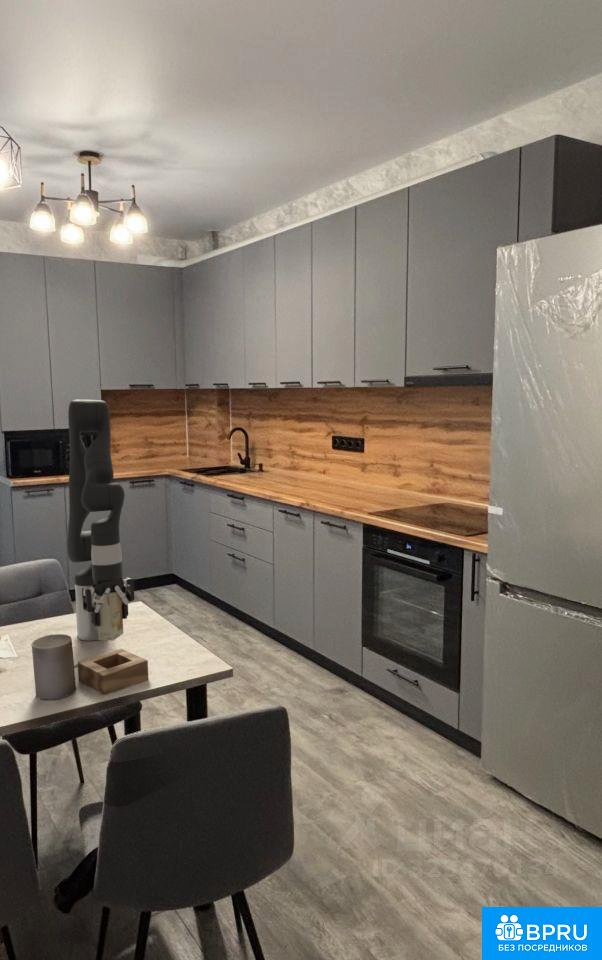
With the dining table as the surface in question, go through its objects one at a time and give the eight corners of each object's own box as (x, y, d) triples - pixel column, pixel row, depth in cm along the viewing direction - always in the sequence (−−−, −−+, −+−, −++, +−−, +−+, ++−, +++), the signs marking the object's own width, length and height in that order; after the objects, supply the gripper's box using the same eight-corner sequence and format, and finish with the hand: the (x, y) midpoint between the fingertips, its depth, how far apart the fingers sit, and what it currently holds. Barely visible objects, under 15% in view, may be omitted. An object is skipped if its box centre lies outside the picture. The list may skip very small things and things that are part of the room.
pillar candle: (68, 681, 187) (63, 626, 185) (81, 693, 179) (77, 636, 177) (30, 691, 181) (25, 635, 179) (42, 704, 173) (37, 645, 171)
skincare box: (113, 641, 182) (110, 595, 180) (97, 640, 183) (95, 594, 181) (124, 633, 188) (122, 588, 186) (109, 632, 189) (106, 587, 187)
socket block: (78, 681, 187) (77, 661, 186) (121, 666, 196) (120, 648, 195) (104, 695, 178) (103, 675, 177) (148, 679, 187) (147, 660, 186)
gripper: (123, 553, 190) (126, 612, 192) (73, 563, 180) (78, 625, 182) (138, 557, 185) (142, 618, 187) (88, 568, 175) (93, 632, 177)
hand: (110, 621), depth 185 cm, fingers closed on skincare box, 7 cm apart
